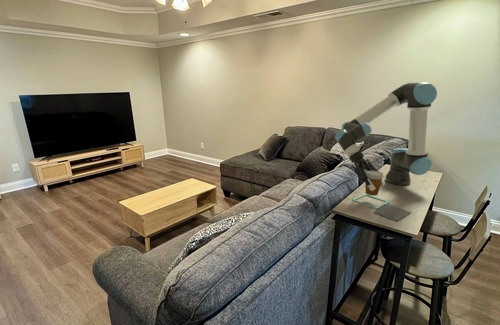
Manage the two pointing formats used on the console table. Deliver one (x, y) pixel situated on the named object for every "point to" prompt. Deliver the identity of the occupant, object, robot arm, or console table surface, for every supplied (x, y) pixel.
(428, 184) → the console table surface
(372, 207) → the teal frame
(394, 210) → the charcoal mat
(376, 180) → the disposable coffee cup
